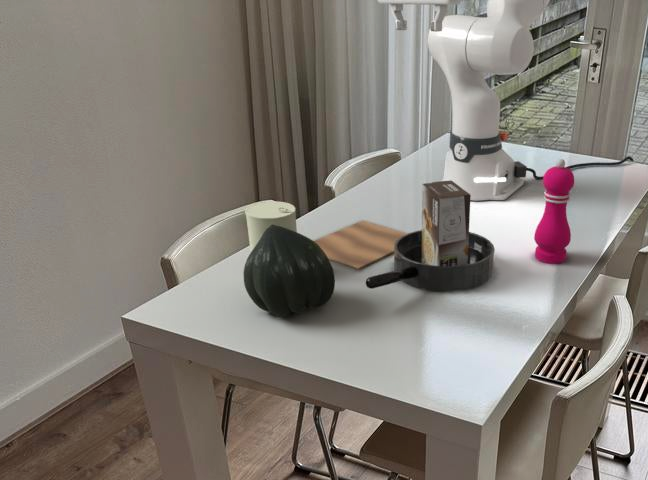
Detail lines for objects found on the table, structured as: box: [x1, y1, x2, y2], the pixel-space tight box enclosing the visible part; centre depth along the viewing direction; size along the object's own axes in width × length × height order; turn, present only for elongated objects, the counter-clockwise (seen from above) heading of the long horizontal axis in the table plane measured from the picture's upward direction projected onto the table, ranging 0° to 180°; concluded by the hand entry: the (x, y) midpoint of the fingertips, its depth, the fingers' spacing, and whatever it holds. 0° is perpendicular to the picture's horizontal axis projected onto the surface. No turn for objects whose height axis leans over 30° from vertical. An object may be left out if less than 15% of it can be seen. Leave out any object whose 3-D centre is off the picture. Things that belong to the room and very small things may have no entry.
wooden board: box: [313, 220, 407, 271], centre depth 159 cm, size 20×16×1 cm
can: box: [244, 200, 298, 253], centre depth 144 cm, size 9×9×12 cm
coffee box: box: [421, 180, 471, 266], centre depth 144 cm, size 9×6×16 cm
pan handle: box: [365, 266, 418, 290], centre depth 136 cm, size 14×2×4 cm, turn 145°
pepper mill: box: [533, 158, 575, 265], centre depth 150 cm, size 7×7×20 cm
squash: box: [243, 224, 336, 317], centre depth 131 cm, size 14×15×15 cm
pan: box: [393, 229, 496, 292], centre depth 147 cm, size 19×19×5 cm
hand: (418, 30), depth 151 cm, fingers open, 8 cm apart
